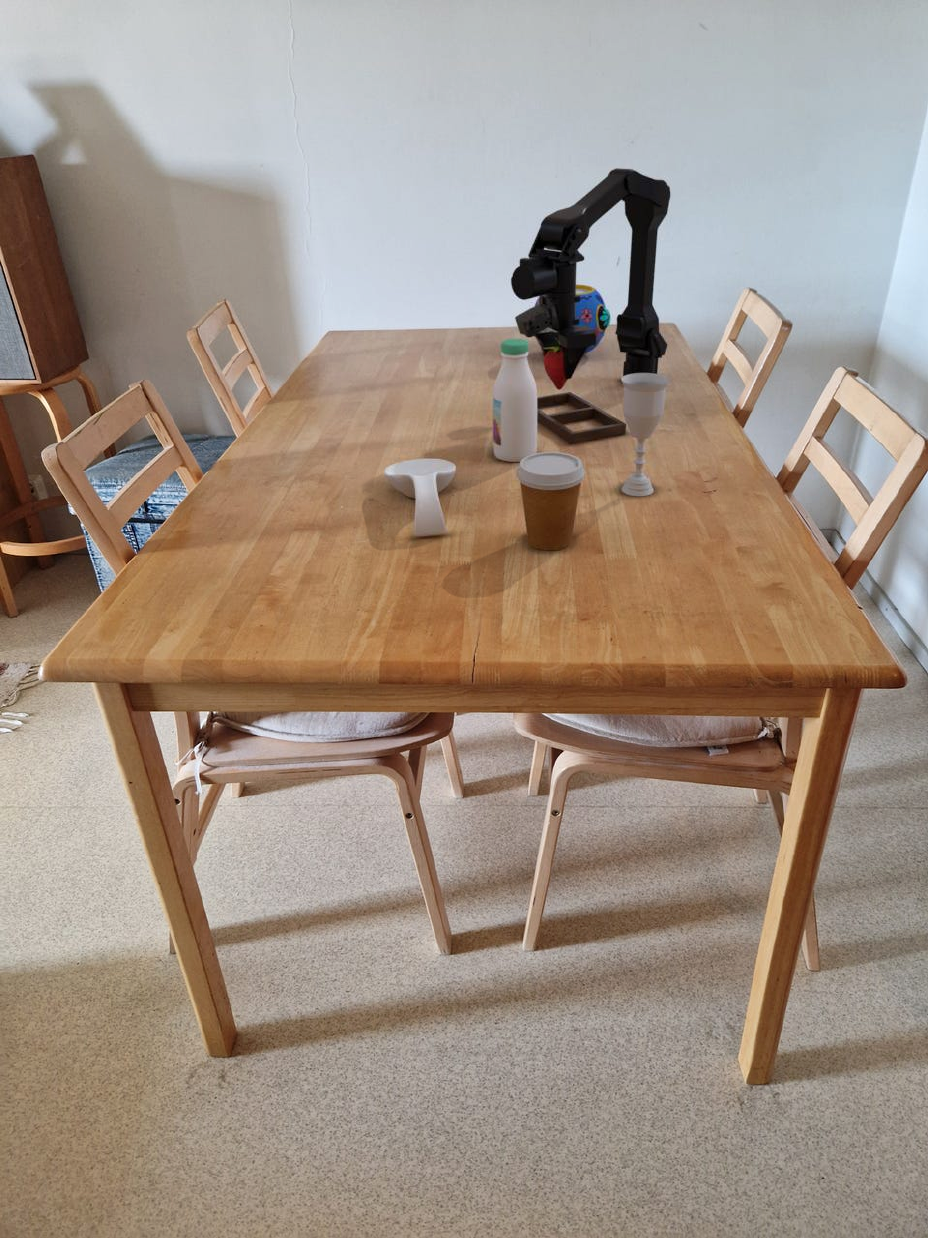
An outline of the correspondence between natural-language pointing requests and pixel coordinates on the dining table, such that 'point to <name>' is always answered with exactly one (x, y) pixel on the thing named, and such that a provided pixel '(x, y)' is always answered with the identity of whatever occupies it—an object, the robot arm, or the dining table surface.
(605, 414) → the brown divided wooden frame
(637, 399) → the chalice
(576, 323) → the robot arm
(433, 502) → the spoon rest
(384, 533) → the dining table surface
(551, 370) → the strawberry
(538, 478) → the disposable coffee cup
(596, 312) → the ceramic pot
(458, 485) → the dining table surface
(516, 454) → the milk bottle
